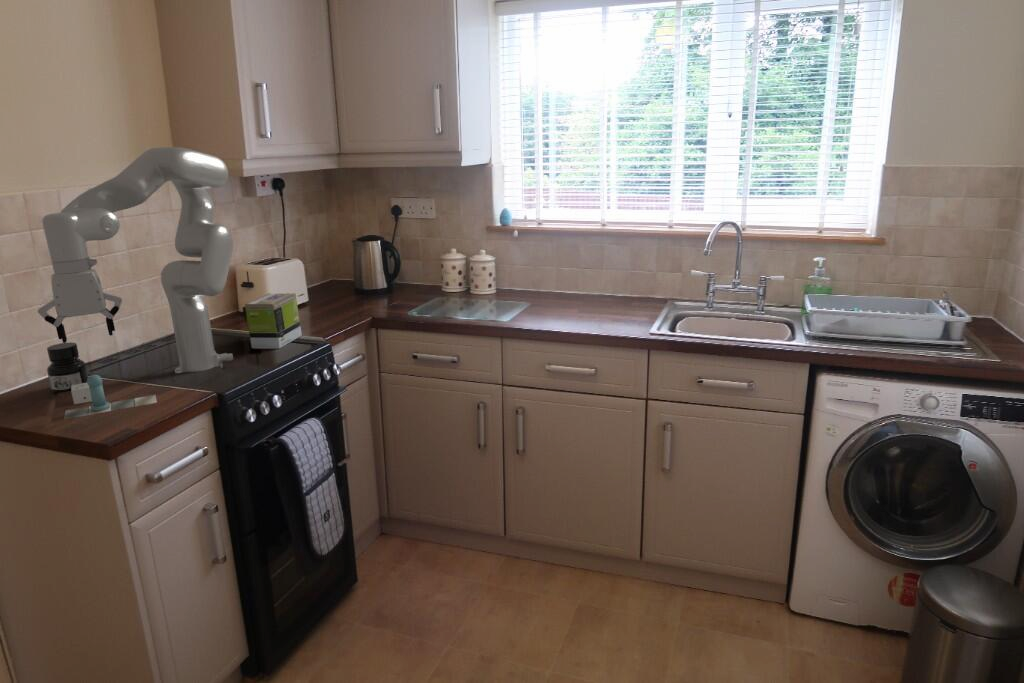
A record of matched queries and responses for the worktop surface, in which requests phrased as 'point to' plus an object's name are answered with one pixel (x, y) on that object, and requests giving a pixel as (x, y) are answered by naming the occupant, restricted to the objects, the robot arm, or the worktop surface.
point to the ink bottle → (65, 367)
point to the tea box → (273, 320)
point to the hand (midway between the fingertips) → (88, 337)
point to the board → (115, 406)
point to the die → (81, 393)
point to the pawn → (97, 394)
